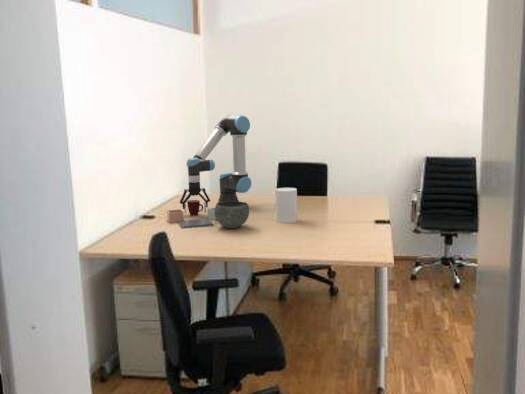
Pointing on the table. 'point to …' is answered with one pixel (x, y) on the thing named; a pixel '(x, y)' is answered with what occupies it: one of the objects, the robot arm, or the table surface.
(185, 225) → the slate board
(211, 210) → the sage open box
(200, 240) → the table surface
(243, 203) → the bowl
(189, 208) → the mug
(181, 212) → the tan open box
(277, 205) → the canister
